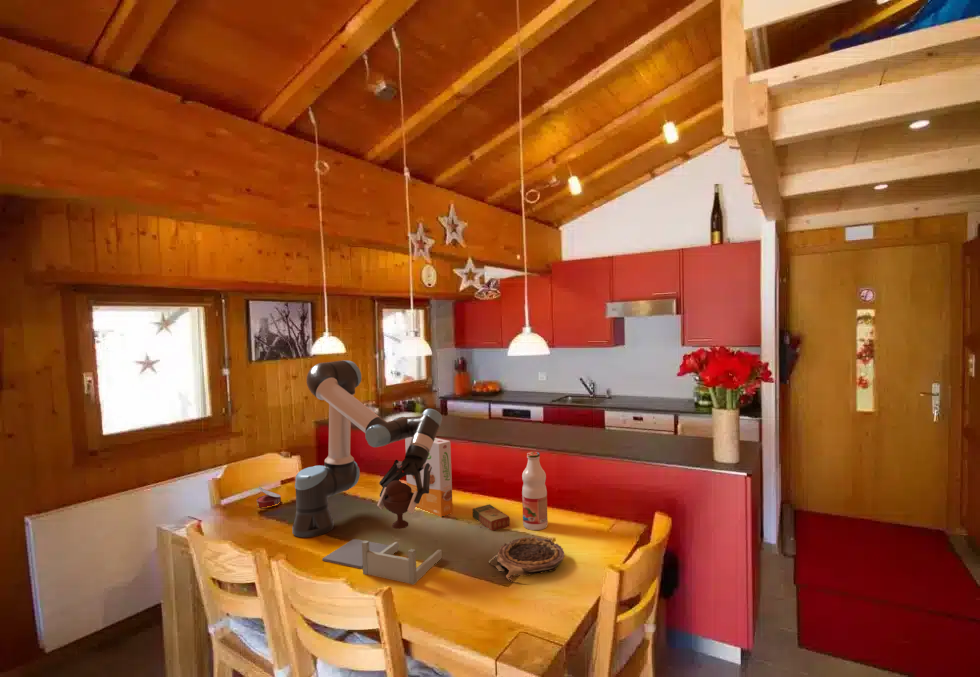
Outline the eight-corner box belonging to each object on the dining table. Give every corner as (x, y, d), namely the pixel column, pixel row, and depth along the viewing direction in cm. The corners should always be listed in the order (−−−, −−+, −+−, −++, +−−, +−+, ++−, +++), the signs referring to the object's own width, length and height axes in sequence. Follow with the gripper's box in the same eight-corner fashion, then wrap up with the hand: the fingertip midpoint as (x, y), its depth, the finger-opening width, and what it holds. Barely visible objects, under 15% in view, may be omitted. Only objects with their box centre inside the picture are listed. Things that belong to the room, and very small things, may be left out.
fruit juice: (550, 529, 184) (548, 455, 183) (526, 531, 183) (524, 457, 182) (543, 519, 193) (542, 449, 193) (520, 522, 192) (518, 451, 191)
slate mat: (322, 560, 165) (322, 558, 165) (353, 541, 179) (353, 538, 179) (361, 568, 158) (361, 566, 158) (390, 547, 173) (390, 545, 173)
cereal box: (452, 512, 204) (450, 441, 203) (441, 517, 199) (438, 444, 198) (418, 500, 219) (416, 434, 218) (407, 504, 215) (405, 436, 214)
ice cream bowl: (410, 533, 154) (409, 486, 153) (377, 531, 156) (375, 484, 156) (421, 519, 164) (420, 475, 164) (390, 518, 166) (389, 474, 166)
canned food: (264, 512, 224) (267, 489, 229) (284, 510, 223) (287, 487, 227) (248, 508, 214) (252, 485, 219) (270, 506, 213) (273, 483, 217)
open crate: (363, 573, 155) (361, 542, 155) (394, 550, 171) (393, 521, 171) (413, 584, 147) (412, 551, 147) (442, 558, 163) (441, 529, 163)
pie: (516, 538, 178) (516, 525, 178) (588, 556, 164) (587, 541, 164) (473, 573, 154) (472, 557, 154) (552, 596, 140) (552, 579, 140)
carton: (491, 532, 185) (490, 520, 184) (472, 518, 199) (471, 507, 198) (510, 526, 189) (509, 515, 188) (490, 513, 203) (489, 503, 202)
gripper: (452, 458, 169) (430, 519, 155) (395, 452, 178) (370, 510, 165) (444, 446, 164) (421, 509, 150) (386, 441, 173) (359, 499, 159)
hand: (394, 509), depth 157 cm, fingers closed on ice cream bowl, 11 cm apart
